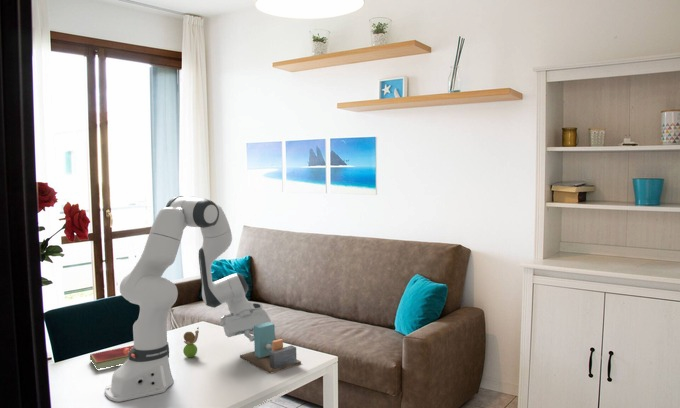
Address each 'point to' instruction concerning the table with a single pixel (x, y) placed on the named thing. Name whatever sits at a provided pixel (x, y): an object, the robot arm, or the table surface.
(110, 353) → the hardcover book
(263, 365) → the brown wooden base board
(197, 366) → the table surface
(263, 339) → the teal upright block
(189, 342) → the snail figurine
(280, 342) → the orange flat block
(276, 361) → the grey lying block
